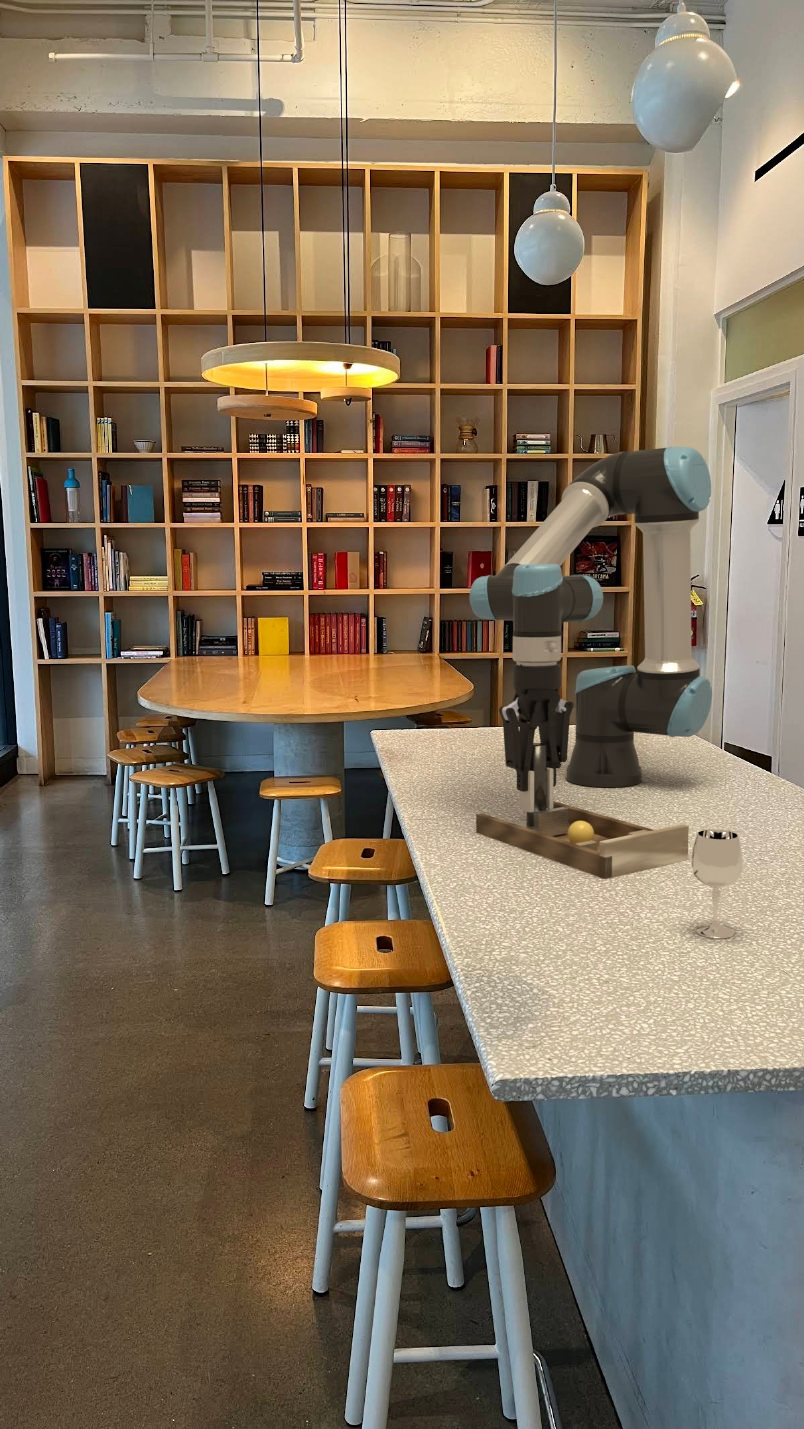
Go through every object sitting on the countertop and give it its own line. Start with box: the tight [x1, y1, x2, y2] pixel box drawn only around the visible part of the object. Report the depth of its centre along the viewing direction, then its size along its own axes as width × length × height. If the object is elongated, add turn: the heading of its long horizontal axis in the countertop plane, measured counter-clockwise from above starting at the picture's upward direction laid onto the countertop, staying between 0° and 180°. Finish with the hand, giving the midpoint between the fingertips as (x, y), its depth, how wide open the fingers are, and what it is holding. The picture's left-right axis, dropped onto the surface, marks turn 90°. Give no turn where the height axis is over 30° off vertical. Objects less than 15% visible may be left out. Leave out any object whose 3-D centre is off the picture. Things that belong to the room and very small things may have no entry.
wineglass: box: [691, 829, 744, 940], centre depth 121 cm, size 6×6×12 cm
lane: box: [475, 800, 690, 880], centre depth 156 cm, size 30×16×6 cm, turn 32°
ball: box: [568, 821, 594, 844], centre depth 155 cm, size 4×4×4 cm
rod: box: [512, 742, 570, 836], centre depth 163 cm, size 7×9×14 cm
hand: (536, 808), depth 164 cm, fingers closed on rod, 3 cm apart
